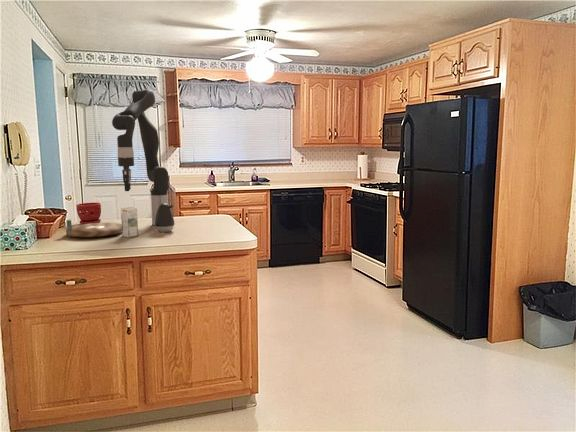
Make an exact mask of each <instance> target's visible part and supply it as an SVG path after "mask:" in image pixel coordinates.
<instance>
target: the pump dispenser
mask: <svg viewBox="0 0 576 432" xmlns="http://www.w3.org/2000/svg"><path fill="white" fill-rule="evenodd" d="M172 208H174V205H173V204H171V205H167V204H165V203H163V204H160V205H159V207H158V209H157V212H156V216H155V225H154V226H155V229H156V230H157V231H158V232H159V233H169V232H171V231H172V230H173V229H174V227H175V217H174V214H173V212H172Z"/></svg>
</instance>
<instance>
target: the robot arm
mask: <svg viewBox="0 0 576 432" xmlns="http://www.w3.org/2000/svg"><path fill="white" fill-rule="evenodd" d="M131 98H132V104H130V105H128V106H127V107H126V108H125V109H124V110H122V111H120V112H119V113H117V114H116V115H114V117H113V118H112V120H111V123H112V124H111V125H112V127H113V128H114V129H115V130H118V131H125V133H124V134H120V135H118V136H117V138H116V141H117V142H116V143H117V166H118V167H123V169H121V171H122V172H121V173H122V180H123V184H124V185H123V186H124V191H125V192H129V191H131V189H132V186H131V182H132V181H131V180H132V169H131V168H130V167H133V166H135V157H134V148H133V138H134V137H133V136H134V132H135V127H136V121H137V122H138V127H139V133H140V139H141V144H142V147H143V148H142V149H143V152H144V153H143V154H144V158H145V165H146V166H145V167H146V177H147V179H148V180H149V181H150V182H152V183H153V188H152V189H150V207H151V209H150V210H151V224H152V225H153V226H155V216H156V212H157V209H158V207H159V205H160V204H163V203H165V204H167V205H168V204H169V202H168V192H169V186H170V185H169V178H170V177H169V172H168V169H167V168H165V167H163V166H160V164H159V160H158V153H159V147H160V140H159V139H160V138H159V133H158V130H157V128H156V127H155V125H153V123H152V122H151V121H150V120H149V119H148V118H147V115H146V113H145V112H146V111H147V110H149V109H151V107H153V106H154V105H155V103H156V95H155V94H154V92H153V90H151V89H141V90H134V91H133V92H132V93H131ZM168 206H169V205H168Z"/></svg>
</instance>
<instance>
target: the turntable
mask: <svg viewBox="0 0 576 432" xmlns="http://www.w3.org/2000/svg"><path fill="white" fill-rule="evenodd" d="M72 224H73V223H72V219H66V229H65V235H67V236H69V237H76V238H94V237H95V238H97V237H105V236H111V235H116V234H121V233H122V223H117V222H100V223H90V224H77V225H72Z"/></svg>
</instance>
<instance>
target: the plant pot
mask: <svg viewBox="0 0 576 432" xmlns="http://www.w3.org/2000/svg"><path fill="white" fill-rule="evenodd" d="M76 212H77V217H78V219H79V225H82V224H90V223H102V220H101V219H100V218H101V215H102V204H101V202H83V203H77V204H76Z"/></svg>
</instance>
